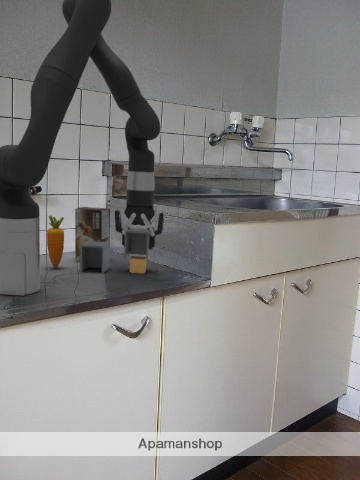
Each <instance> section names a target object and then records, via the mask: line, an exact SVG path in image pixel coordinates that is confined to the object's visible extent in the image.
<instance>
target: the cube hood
mask: <svg viewBox="0 0 360 480" xmlns="http://www.w3.org/2000/svg"><path fill="white" fill-rule="evenodd" d="M149 243H150V231H148V229H147V228H143V227H131V228H130V229H128V230H125V248H124V249H123V250H124V251H123V258H125V259H126V258H127V257H128V256H129V255H139V256H141V255H144V256H145V257H146V260H148V259H149V258H150V257H151V256H152V250H153V249H152V250H150V249H149Z"/></svg>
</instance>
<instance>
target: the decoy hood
mask: <svg viewBox="0 0 360 480" xmlns="http://www.w3.org/2000/svg"><path fill="white" fill-rule="evenodd" d="M88 268H94V269H95V268H97V269H98V268H99V269H101V274H104V273H105V272H106V271H108V270H109V269H110V260H109V242H95V241H86V242H84V243H83V244H81V245H80V261H79V272H80V273H82V272H84V271H85V270H86V269H88Z"/></svg>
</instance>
